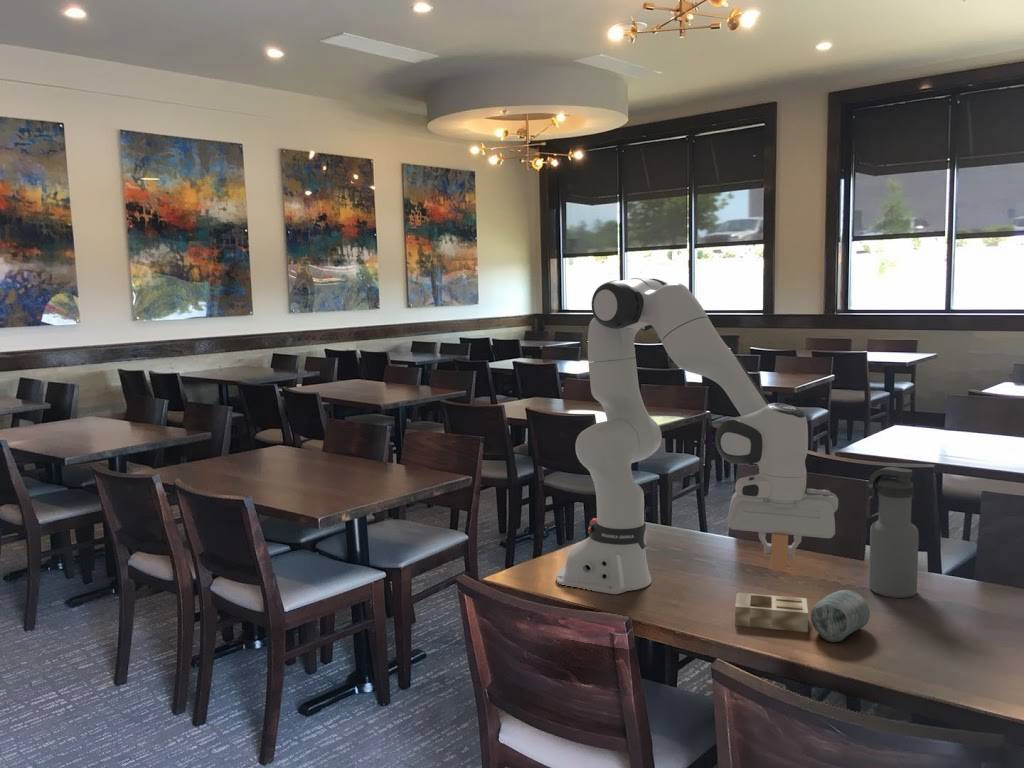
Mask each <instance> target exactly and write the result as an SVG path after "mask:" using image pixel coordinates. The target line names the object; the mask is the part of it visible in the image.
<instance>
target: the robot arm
mask: <svg viewBox="0 0 1024 768" xmlns="http://www.w3.org/2000/svg"><path fill="white" fill-rule="evenodd" d="M591 310H592V311H591V312H592V315H593V316H594V317H593V318H592V319H591V320H590V321H589V322H590V323H589V324H588V332H587V360H588V372H589V374H588V375H589V381H590V382H589V384H590V385H589V386H590V392H591V396H592V397H593V398H594V399H595V400H596V401H598V403H599V404H600V405H601V406H602V409H603V411H604V414H605V416H606V420H605V421H602V422H597V423H594V424H592V425H591V426H588V427H587V428H585V429H584V430H582V431H581V432H580V433H579V434H578V435H577V438H576V440H575V446H574V447H575V454H576V457H577V459H578V461H579V463H580V464H581V465H582V466H583V467H584V468H585V469H587V471H589V472H588V473H590V476H591V479H592V481H593V485H594V489H595V496H596V497H595V498H596V517H593V518H592V519H591V520H590V521H589V525H588V531H587V532H588V537H587V538H585V539H584V540H582V541H581V542H580V543H578V544H576V546H574V547H573V548H572V549H571V550H570V551H569V553H568V555H567V558H566V562H565V566H563V567H562V568H560V569H559V570H558V572H557V573H556V577H555V578H556V579H555V582H556V581H557V582H558V583H559V584H562V585H567V586H572V587H571V588H573V587H578V588H577V589H579V588H583V589H582V590H585V589H587V591H591V590H592V592H598V593H603V594H611V595H618V594H619V595H620V594H622V593H625V592H629V591H635V590H636V591H637V590H641V589H644V588H646V587H648V586H649V585H651V583H652V577H651V575H650V571H649V565H648V560H647V555H646V553H647V552H646V546H647V535H648V534H647V524H646V522H645V499H644V498H645V496H644V493H645V492H644V490H643V488H642V487H641V486H640V485H639V484H637V483H636V481H635V479H634V475H633V471H632V464H634V463H638V462H640V461H643V460H645V459H647V458H650V457H651V456H652V455H653V454H654V453H656V452H657V451H658V449H659V448H660V447H661V444H662V439H663V438H662V437H663V435H662V430H661V428H660V426H659V424H658V423H657V422H656V421H655V420H654V419H653V418H652V417H651V415H650V414H649V413H648V410H647V408H646V406H645V404H644V401H643V398H642V394H641V391H640V384H639V377H638V367H637V358H636V357H637V356H636V347H635V337H636V335H637V333H638V332H639V331H640V330H642V331H643V332H644V331H648V330H650V329H652V328H653V329H654V331H655V332H656V333H657V336H658V338H659V340H660V342H661V344H662V346H663V347H664V349H665V352H666V353H667V355H668V356H669V358H670V359H671V360H672V362H673V363H674V364H675V365H676V366H677V367H678V368H679V369H681V370H683V371H685V372H688V373H690V374H691V373H692V374H694V375H695V374H696V375H699V376H702V377H704V378H707V379H709V380H711V381H713V382H715V383H716V384H718V386H720V387H721V388H722V389H723V390H724V393H726V395H727V396H728V398H729V399H730V401H731V403H732V404H733V406H734V407H735V408H736V410H737V411H738V413H739V414H740V416H736V417H735V416H734V417H731V418H728V419H726V420H725V421H723V422H721V423H720V424H719V426H718V428H717V429H716V433H715V438H714V439H715V440H714V441H715V442H714V443H715V447H716V449H717V451H718V453H719V455H720V456H721V458H722V459H723V460H724V461H726V462H728V463H730V464H733V465H747V464H748V465H751V464H755V465H757V466H758V469H759V471H758V472H759V473H758V474H755V475H754V474H753V475H749V476H745V477H740V478H737V481H736V483H735V492H734V493H733V494H732V497H731V500H730V504H729V508H728V513H727V515H728V516H727V526H728V527H729V529H731V530H735V531H744V532H745V531H748V532H754V533H755V532H757V533H758V538H759V539H758V540H760V542H761V544H762V545H763V554H764V555H766V554H767V555H771V544H772V542H771V543H770V542H767V540H766V537H767V533H768V534H772V533H778V534H788V536H793V540H794V541H793V542H792V543H791V544H788V554H787V557H794V558H795V556H796V555H795V554H796V549H797V548H798V546H799V545H800V543H802V539H803V538H802V537H811V538H821V539H832V538H833V537H834V536H835V534H836V521H835V513H836V512H837V511H838V507H839V498H838V496H837V494H835V493H833V492H831V490H828V489H816V488H807V473H808V472H807V468H806V458H807V455H808V454H809V453H808V452H809V451H808V450H809V426H808V419H807V417H806V414H805V413H804V411H803V410H801V409H800V408H799V407H797V406H794V405H790V404H786V403H781V402H772V403H771V402H769V401H768V400H767V398H766V397H765V395H764V394H763V392H762V391H761V389H760V388H759V386H758V385H757V384H756V381H754V379H753V378H752V376H751V375H750V373H749V371H748V370H747V369H746V367H745V366H744V364H743V363H742V362H741V361H740V359H739V358H738V356H736V354H735V353H734V352H733V351H732V350H731V348H729V346H728V344H726V342H724V340H723V338H722V337H721V336H720V334H719V333H718V331H717V330H716V328H715V327H714V325H713V323H712V321H711V319H710V318H709V316H708V315H707V313H706V311H705V310H704V308H703V306H702V305H701V304H700V302H699V301H698V299H697V298H696V297H695V295H694V294H693V293H692V292H691V291H690V290H689V288H688V287H687V286H686V285H684V284H682V283H679V282H669V283H668V282H665V281H664V280H660V279H658V278H640V277H634V278H632V277H631V278H630V279H622V280H610V281H607V282H604V283H603V284H601V285H599V286H598V287H597V288H596V289H595V291H594V293H593V295H592V297H591ZM557 582H556V583H557ZM558 583H557V584H558ZM559 584H558V585H559ZM567 586H566V587H567Z"/></svg>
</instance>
